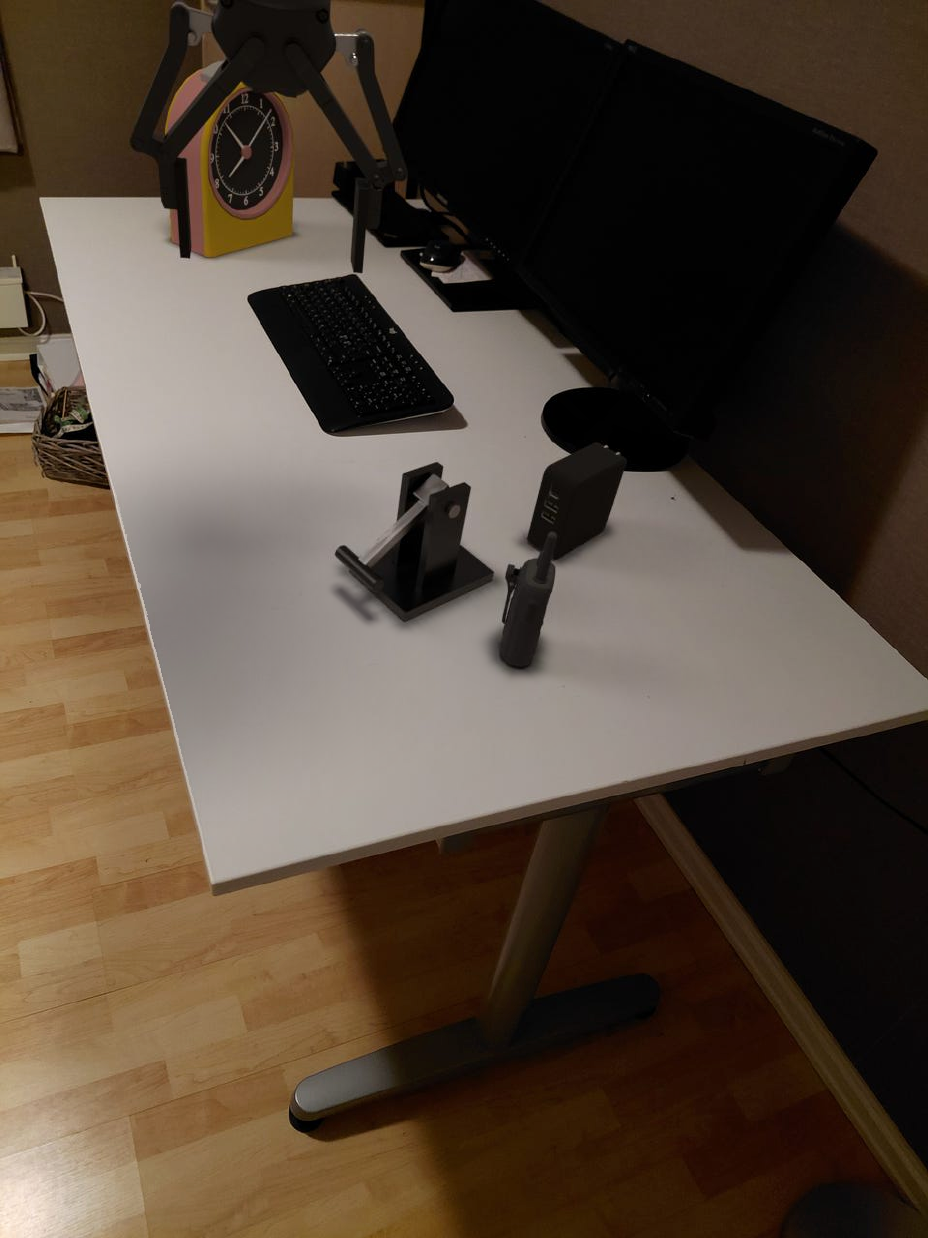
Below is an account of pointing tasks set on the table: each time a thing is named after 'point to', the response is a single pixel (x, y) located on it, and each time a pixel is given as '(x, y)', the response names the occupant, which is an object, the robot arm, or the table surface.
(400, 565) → the bracket
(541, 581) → the two-way radio
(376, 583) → the lever
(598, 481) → the electronic device
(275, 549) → the table surface
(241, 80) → the robot arm
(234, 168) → the alarm clock
